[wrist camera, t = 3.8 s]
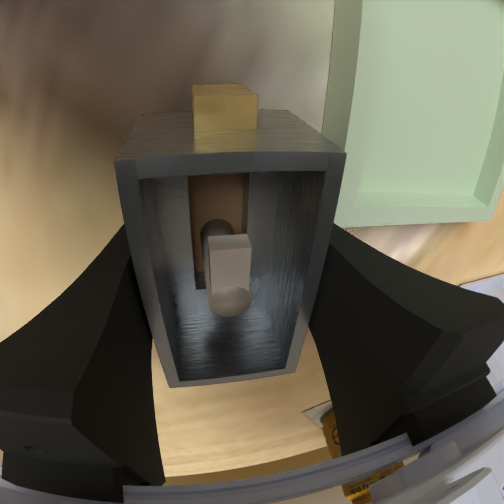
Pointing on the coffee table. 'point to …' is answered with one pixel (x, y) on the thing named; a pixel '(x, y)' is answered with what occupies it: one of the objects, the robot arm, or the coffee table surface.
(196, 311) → the grey open box
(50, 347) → the robot arm
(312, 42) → the coffee table surface
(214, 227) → the tan rectangular block
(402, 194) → the tray
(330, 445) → the condiment
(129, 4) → the coffee table surface
